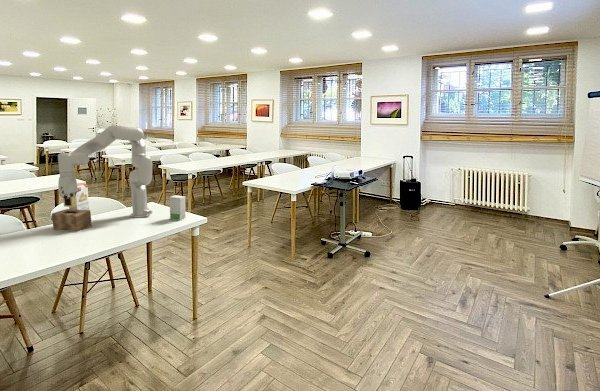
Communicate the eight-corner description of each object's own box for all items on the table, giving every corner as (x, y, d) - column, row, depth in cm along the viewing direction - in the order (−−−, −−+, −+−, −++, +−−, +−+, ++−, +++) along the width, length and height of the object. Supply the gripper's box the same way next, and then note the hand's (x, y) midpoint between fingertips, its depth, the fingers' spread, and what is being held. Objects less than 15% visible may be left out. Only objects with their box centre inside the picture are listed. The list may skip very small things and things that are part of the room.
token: (76, 206, 225) (75, 196, 224) (72, 207, 222) (72, 197, 221) (67, 205, 226) (66, 195, 224) (63, 206, 223) (62, 196, 222)
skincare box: (169, 219, 250) (168, 196, 246) (175, 217, 256) (174, 194, 253) (180, 220, 247) (179, 197, 244) (186, 218, 253) (185, 195, 250)
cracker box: (78, 217, 250) (75, 186, 245) (69, 217, 250) (66, 186, 245) (90, 212, 263) (87, 183, 259) (82, 212, 263) (79, 182, 259)
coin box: (91, 226, 231) (90, 210, 229) (77, 231, 220) (75, 215, 218) (68, 224, 234) (67, 208, 232) (53, 229, 222) (51, 213, 220)
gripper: (72, 172, 228) (74, 201, 232) (50, 175, 213) (53, 207, 216) (83, 172, 227) (85, 202, 231) (62, 176, 211) (65, 208, 215)
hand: (70, 204), depth 223 cm, fingers closed on token, 3 cm apart
